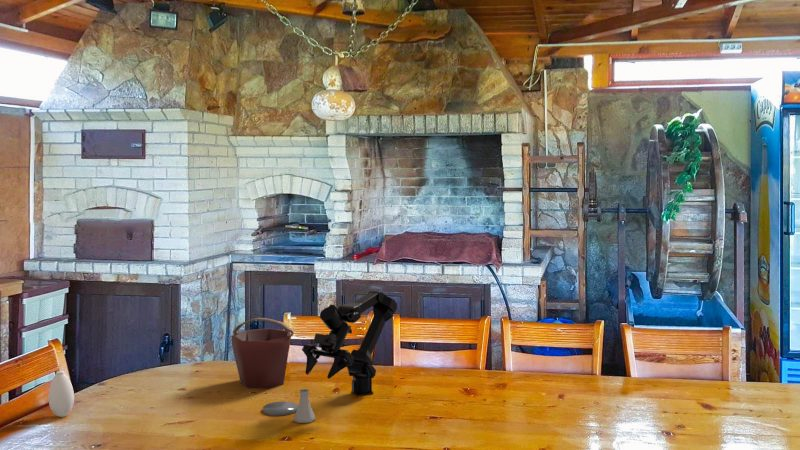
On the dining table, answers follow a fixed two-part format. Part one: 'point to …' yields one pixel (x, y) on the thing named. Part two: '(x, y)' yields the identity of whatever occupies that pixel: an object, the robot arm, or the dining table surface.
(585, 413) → the dining table surface
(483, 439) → the dining table surface
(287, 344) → the bucket
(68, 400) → the grey teardrop piece
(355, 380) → the robot arm
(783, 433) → the dining table surface
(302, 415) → the flask
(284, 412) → the slate coaster
